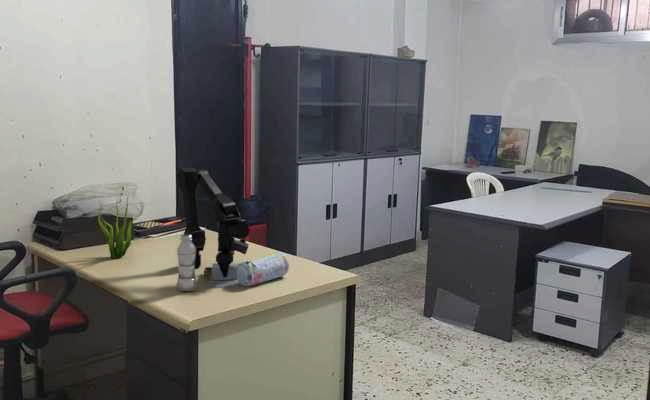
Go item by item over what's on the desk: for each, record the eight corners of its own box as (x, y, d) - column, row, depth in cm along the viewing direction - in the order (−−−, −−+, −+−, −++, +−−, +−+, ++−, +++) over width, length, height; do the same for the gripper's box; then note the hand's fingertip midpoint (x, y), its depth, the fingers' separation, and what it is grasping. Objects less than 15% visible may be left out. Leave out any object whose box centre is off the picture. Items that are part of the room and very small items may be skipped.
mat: (206, 288, 216) (206, 287, 216) (208, 282, 224) (208, 281, 224) (240, 288, 218) (240, 287, 218) (241, 281, 225) (241, 281, 225)
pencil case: (249, 289, 216) (249, 263, 214) (233, 284, 221) (233, 258, 220) (290, 278, 231) (291, 254, 230) (274, 273, 237) (275, 250, 236)
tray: (204, 279, 228) (203, 270, 227) (205, 275, 233) (205, 267, 232) (246, 278, 230) (246, 270, 229) (247, 275, 234) (247, 267, 234)
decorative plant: (84, 203, 240) (89, 187, 253) (110, 263, 255) (114, 244, 268) (129, 192, 242) (131, 176, 254) (153, 252, 257) (154, 233, 269)
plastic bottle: (178, 287, 216) (177, 233, 213) (197, 287, 217) (197, 233, 214) (175, 293, 210) (174, 237, 207) (195, 293, 211) (194, 237, 207)
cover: (211, 279, 227) (211, 268, 226) (213, 274, 234) (213, 263, 233) (238, 279, 228) (238, 268, 228) (239, 274, 235) (239, 263, 234)
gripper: (246, 239, 220) (246, 281, 223) (247, 229, 239) (247, 267, 241) (215, 239, 219) (215, 281, 221) (219, 229, 237) (219, 267, 240)
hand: (225, 274), depth 231 cm, fingers closed on cover, 7 cm apart
